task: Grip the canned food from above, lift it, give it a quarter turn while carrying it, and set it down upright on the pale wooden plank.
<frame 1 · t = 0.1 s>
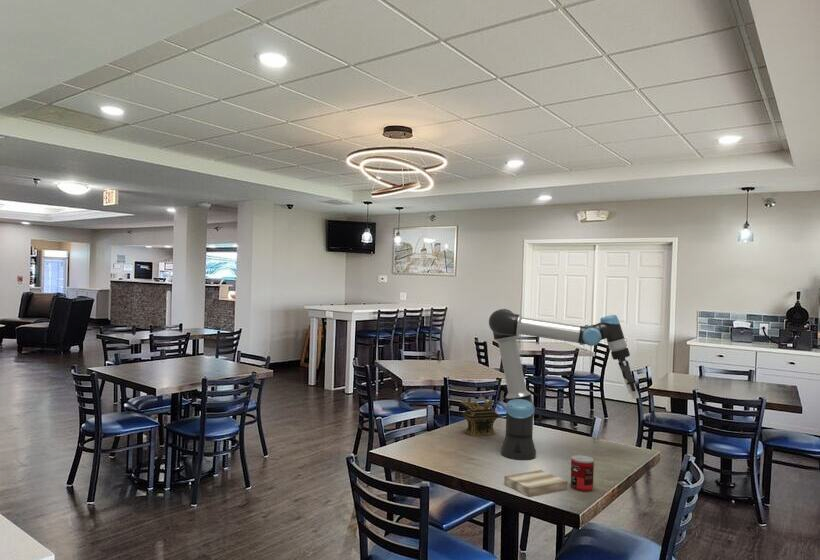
hand: (634, 395, 247), 28 cm above the table, tool tilted 20°, fingers open, 13 cm apart
decorative box: (477, 434, 281), on the table
pale wooden plank: (535, 486, 206), on the table
canned food: (581, 488, 207), on the table
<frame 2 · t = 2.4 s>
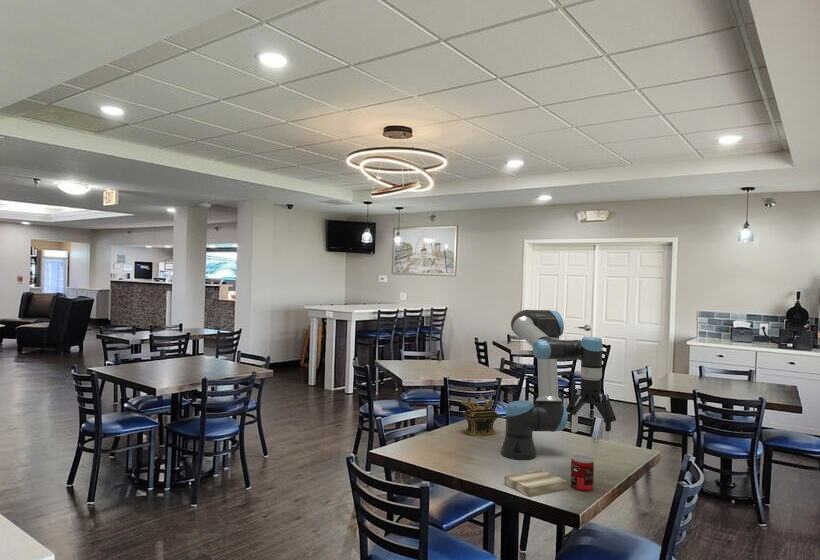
hand: (589, 436, 208), 19 cm above the table, tool pointing down, fingers open, 13 cm apart
nothing on the table moved.
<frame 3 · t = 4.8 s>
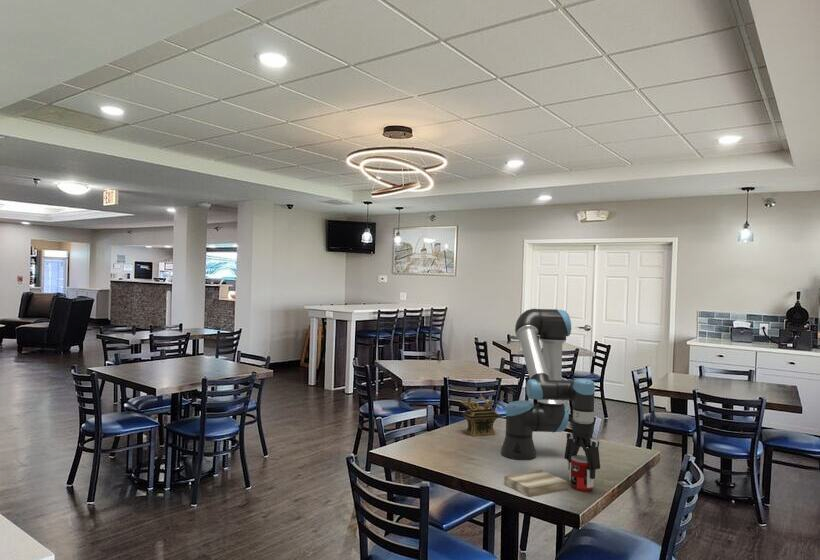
hand: (581, 483, 206), 2 cm above the table, tool pointing down, fingers closed on canned food, 8 cm apart
canned food: (581, 488, 207), on the table, touching gripper
everything else where it was.
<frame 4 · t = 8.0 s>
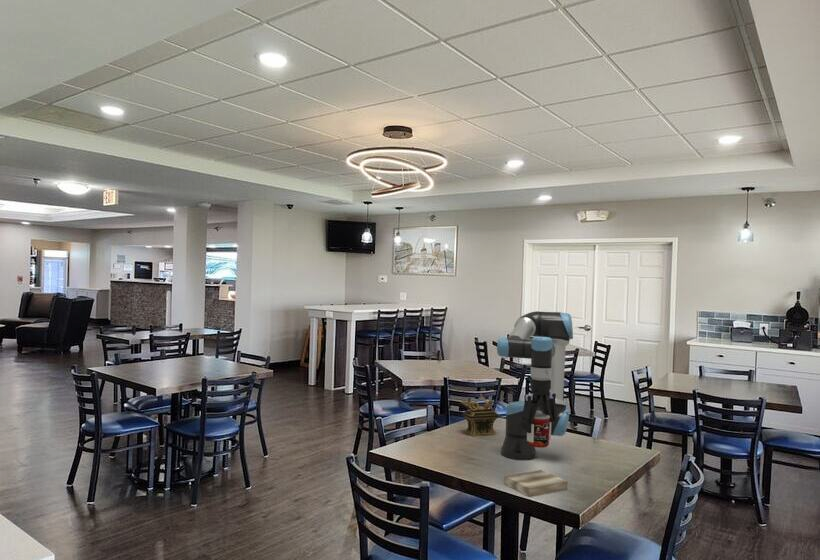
hand: (538, 440, 206), 17 cm above the table, tool pointing down, fingers closed on canned food, 8 cm apart
canned food: (538, 445, 207), point 15 cm above the table, touching gripper
everything else where it was.
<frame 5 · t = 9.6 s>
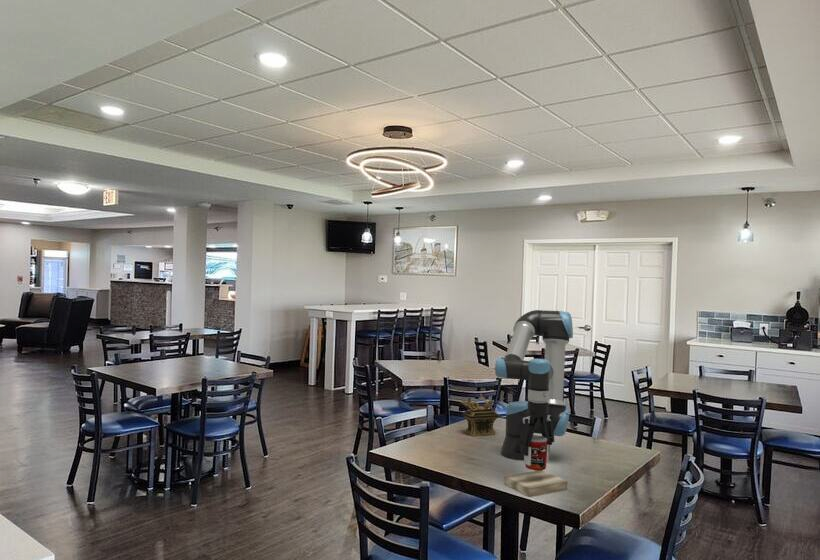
hand: (536, 462, 206), 9 cm above the table, tool pointing down, fingers closed on canned food, 8 cm apart
canned food: (535, 468, 206), point 7 cm above the table, touching gripper
everything else where it was.
when the fingers open (6 cm above the table, at t = 11.1 s): canned food stays where it is, resting on pale wooden plank.
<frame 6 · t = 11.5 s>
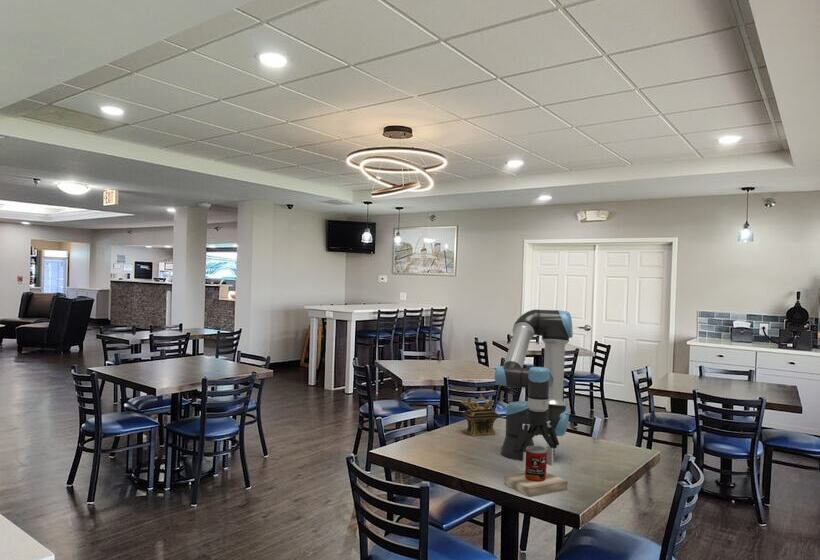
hand: (536, 467, 206), 7 cm above the table, tool pointing down, fingers open, 13 cm apart
canned food: (535, 478, 206), point 3 cm above the table, touching pale wooden plank
everything else where it was.
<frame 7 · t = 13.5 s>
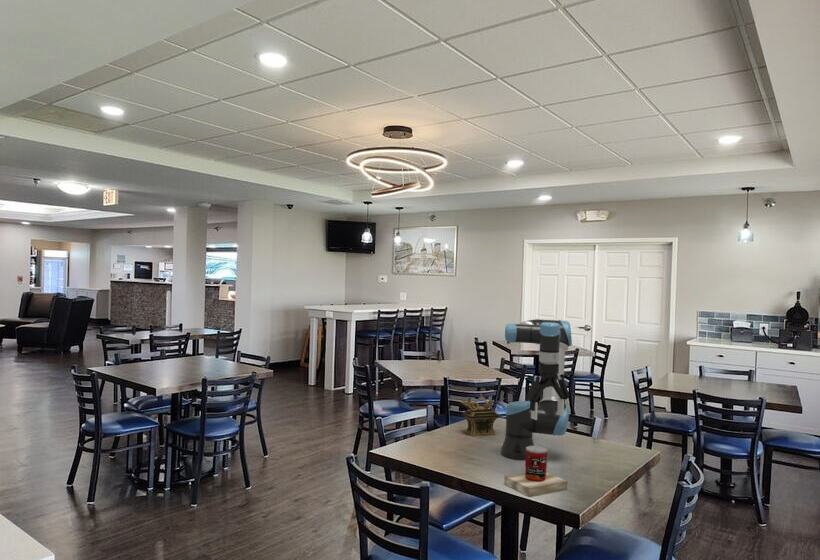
hand: (547, 417, 216), 24 cm above the table, tool pointing down, fingers open, 13 cm apart
nothing on the table moved.
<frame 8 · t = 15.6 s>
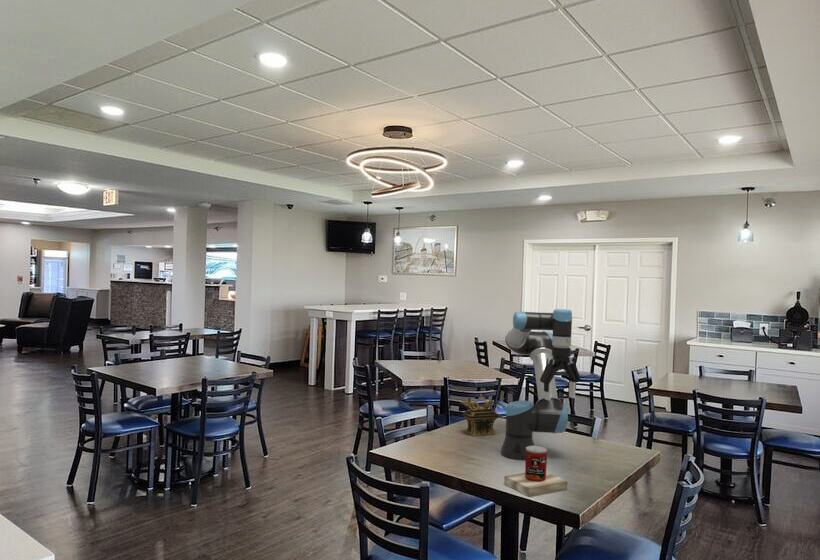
hand: (559, 398, 228), 29 cm above the table, tool pointing down, fingers open, 13 cm apart
nothing on the table moved.
at the end: canned food inside the target area on the pale wooden plank (0.3 cm from its centre), point 2.8 cm above the pale wooden plank's base; canned food tilted 0°; the gripper is holding nothing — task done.
